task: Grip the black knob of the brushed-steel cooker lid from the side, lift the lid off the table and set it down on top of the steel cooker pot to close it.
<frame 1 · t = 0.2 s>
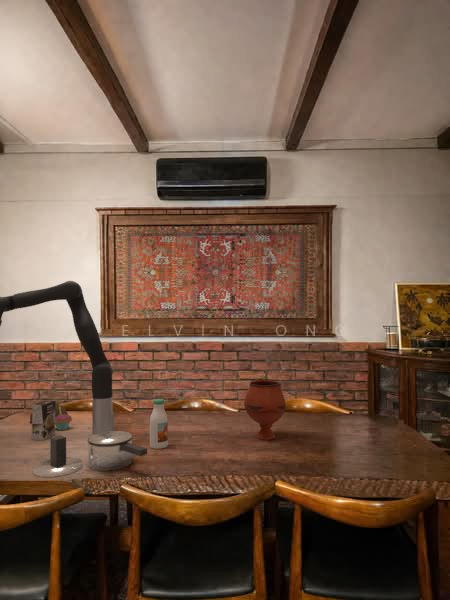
coffee box: (43, 437, 195), on the table
cupcake: (62, 429, 209), on the table
cooker pot: (110, 463, 161), on the table
milk bottle: (158, 447, 180), on the table
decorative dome: (49, 421, 227), on the table
goblet: (265, 437, 193), on the table
cooker lid: (58, 469, 156), on the table
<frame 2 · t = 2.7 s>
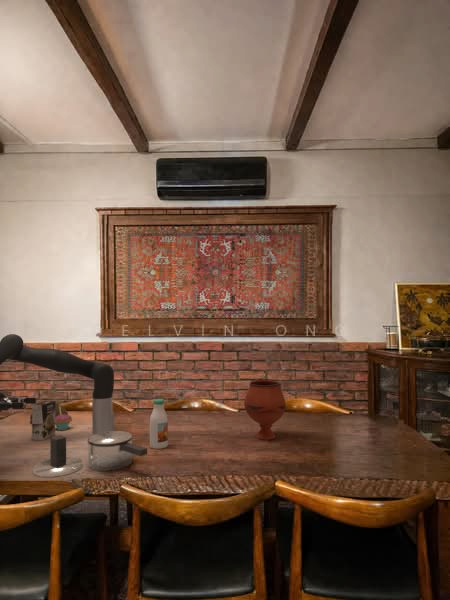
hand: (29, 403, 157), 24 cm above the table, tool horizontal, fingers open, 8 cm apart
nothing on the table moved.
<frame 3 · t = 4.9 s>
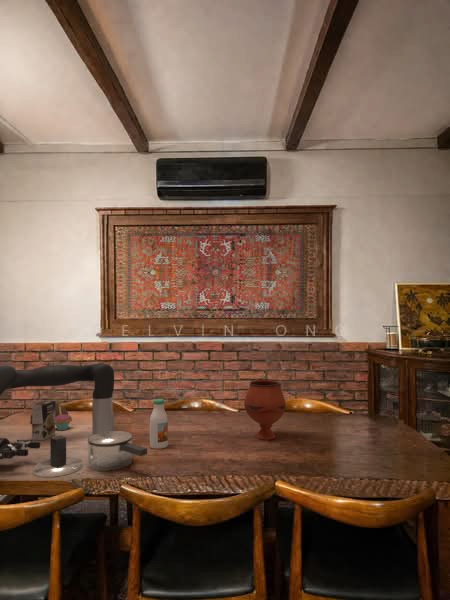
hand: (34, 448, 157), 7 cm above the table, tool horizontal, fingers open, 8 cm apart
nothing on the table moved.
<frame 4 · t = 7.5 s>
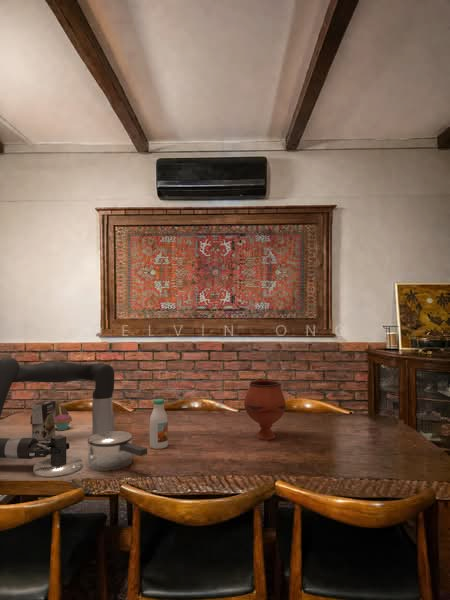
hand: (65, 448, 156), 7 cm above the table, tool horizontal, fingers closed on cooker lid, 5 cm apart
cooker lid: (58, 468, 156), on the table, touching gripper
everything else where it was.
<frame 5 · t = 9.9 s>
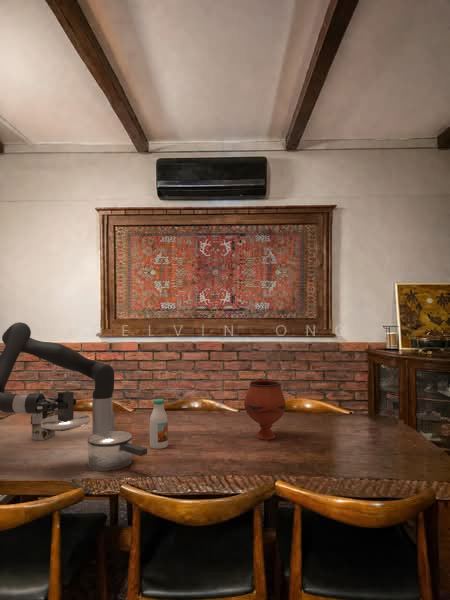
hand: (72, 403, 157), 24 cm above the table, tool horizontal, fingers closed on cooker lid, 5 cm apart
cooker lid: (65, 423, 157), point 16 cm above the table, touching gripper
everything else where it was.
when the fingers open (18 cm above the table, at t = 12.3 s): cooker lid stays where it is, resting on cooker pot.
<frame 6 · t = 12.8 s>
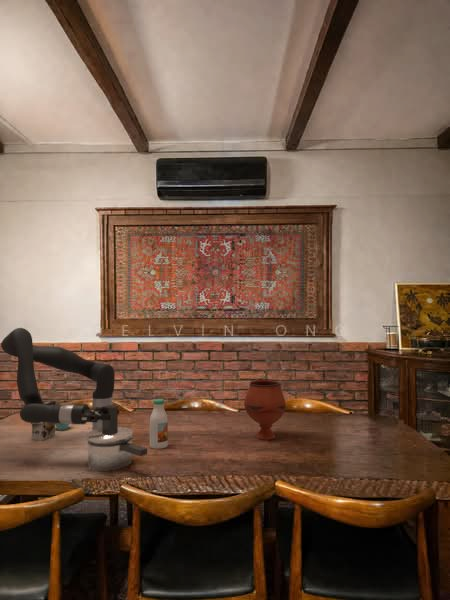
hand: (115, 414, 161), 19 cm above the table, tool horizontal, fingers open, 8 cm apart
cooker lid: (109, 436, 161), point 10 cm above the table, touching cooker pot
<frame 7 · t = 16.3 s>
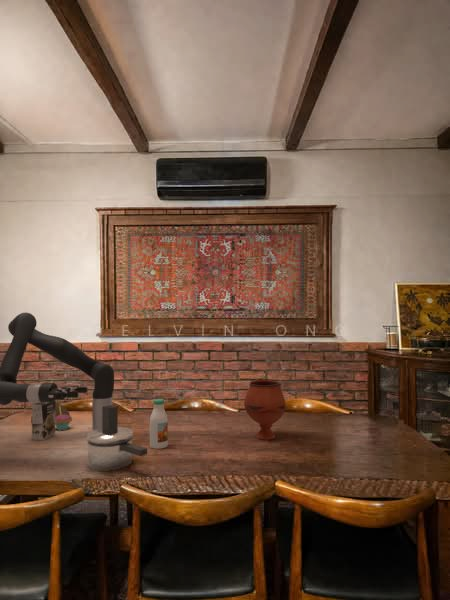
hand: (82, 392, 162), 27 cm above the table, tool horizontal, fingers open, 8 cm apart
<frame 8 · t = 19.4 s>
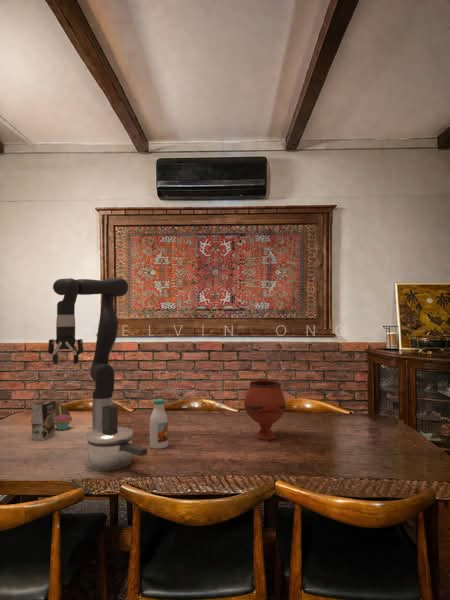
hand: (65, 363, 178), 36 cm above the table, tool pointing down, fingers open, 8 cm apart
at the end: cooker lid 0.1 cm from the cooker pot (horizontally); cooker lid point 10.0 cm above the table; cooker lid tilted 0° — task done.
